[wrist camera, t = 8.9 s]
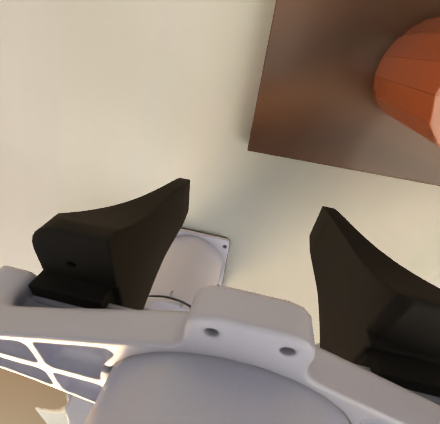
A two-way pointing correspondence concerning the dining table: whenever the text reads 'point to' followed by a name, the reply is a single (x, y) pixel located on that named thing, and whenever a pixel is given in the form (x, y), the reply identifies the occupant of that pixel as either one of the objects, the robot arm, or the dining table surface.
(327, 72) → the serving board
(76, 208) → the dining table surface
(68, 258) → the robot arm
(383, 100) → the tumbler
